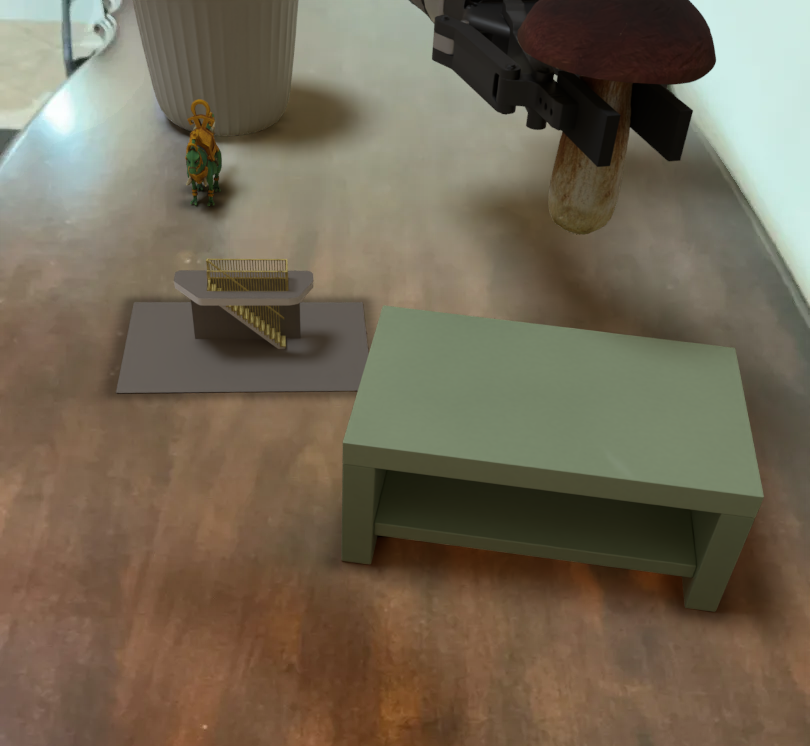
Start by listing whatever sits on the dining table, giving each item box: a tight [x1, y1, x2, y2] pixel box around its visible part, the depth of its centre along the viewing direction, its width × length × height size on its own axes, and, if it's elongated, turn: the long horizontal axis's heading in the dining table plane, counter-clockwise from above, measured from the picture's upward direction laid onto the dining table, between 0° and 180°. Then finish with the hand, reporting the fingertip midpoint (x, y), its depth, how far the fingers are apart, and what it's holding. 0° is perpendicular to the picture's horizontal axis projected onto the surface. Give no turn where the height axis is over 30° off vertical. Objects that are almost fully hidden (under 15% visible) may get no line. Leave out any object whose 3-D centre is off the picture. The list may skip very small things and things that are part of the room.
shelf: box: [340, 304, 765, 613], centre depth 59 cm, size 22×14×9 cm, turn 82°
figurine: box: [184, 99, 223, 207], centre depth 88 cm, size 3×12×8 cm, turn 0°
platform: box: [115, 258, 369, 394], centre depth 71 cm, size 12×18×7 cm, turn 95°
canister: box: [131, 0, 299, 137], centre depth 96 cm, size 18×18×21 cm
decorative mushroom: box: [517, 0, 717, 236], centre depth 56 cm, size 11×11×15 cm
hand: (644, 138), depth 52 cm, fingers closed on decorative mushroom, 4 cm apart
